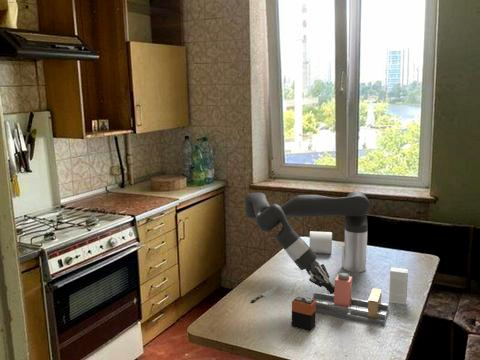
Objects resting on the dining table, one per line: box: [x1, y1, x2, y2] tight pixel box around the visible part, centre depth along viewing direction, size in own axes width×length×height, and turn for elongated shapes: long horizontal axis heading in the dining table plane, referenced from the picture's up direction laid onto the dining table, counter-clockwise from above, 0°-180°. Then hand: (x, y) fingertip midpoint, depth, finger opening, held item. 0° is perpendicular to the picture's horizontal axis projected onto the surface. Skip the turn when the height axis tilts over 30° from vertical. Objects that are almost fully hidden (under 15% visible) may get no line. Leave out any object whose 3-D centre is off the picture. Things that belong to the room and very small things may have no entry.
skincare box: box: [388, 266, 409, 305], centre depth 167 cm, size 6×4×12 cm
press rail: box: [311, 288, 390, 326], centre depth 161 cm, size 26×12×8 cm, turn 66°
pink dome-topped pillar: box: [333, 272, 353, 307], centre depth 161 cm, size 5×5×11 cm
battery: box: [291, 295, 317, 332], centre depth 150 cm, size 4×7×10 cm, turn 60°
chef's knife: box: [250, 285, 277, 304], centre depth 175 cm, size 19×1×3 cm
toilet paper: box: [309, 230, 333, 255], centre depth 218 cm, size 10×10×10 cm
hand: (333, 292), depth 162 cm, fingers closed
